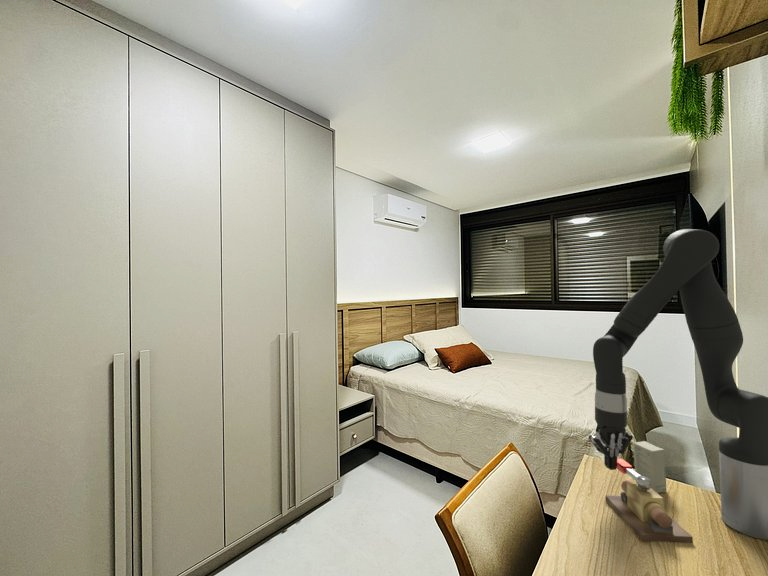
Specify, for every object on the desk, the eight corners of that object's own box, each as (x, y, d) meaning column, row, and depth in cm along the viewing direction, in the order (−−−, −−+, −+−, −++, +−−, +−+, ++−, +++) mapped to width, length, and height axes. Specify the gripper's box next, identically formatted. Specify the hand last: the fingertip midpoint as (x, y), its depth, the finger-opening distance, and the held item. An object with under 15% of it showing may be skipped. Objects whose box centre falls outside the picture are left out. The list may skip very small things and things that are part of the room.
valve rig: (605, 500, 93) (604, 471, 93) (647, 502, 92) (646, 472, 92) (642, 541, 78) (640, 505, 78) (692, 543, 77) (691, 507, 77)
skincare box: (667, 492, 96) (665, 449, 96) (654, 494, 95) (652, 451, 95) (646, 480, 102) (645, 440, 102) (634, 481, 102) (632, 441, 102)
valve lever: (653, 489, 84) (653, 481, 84) (642, 489, 84) (642, 481, 84) (622, 465, 95) (622, 458, 95) (613, 466, 95) (613, 459, 95)
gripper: (601, 413, 89) (601, 478, 88) (642, 409, 91) (643, 473, 91) (579, 403, 96) (580, 464, 96) (618, 400, 98) (618, 459, 98)
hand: (610, 468), depth 93 cm, fingers closed
